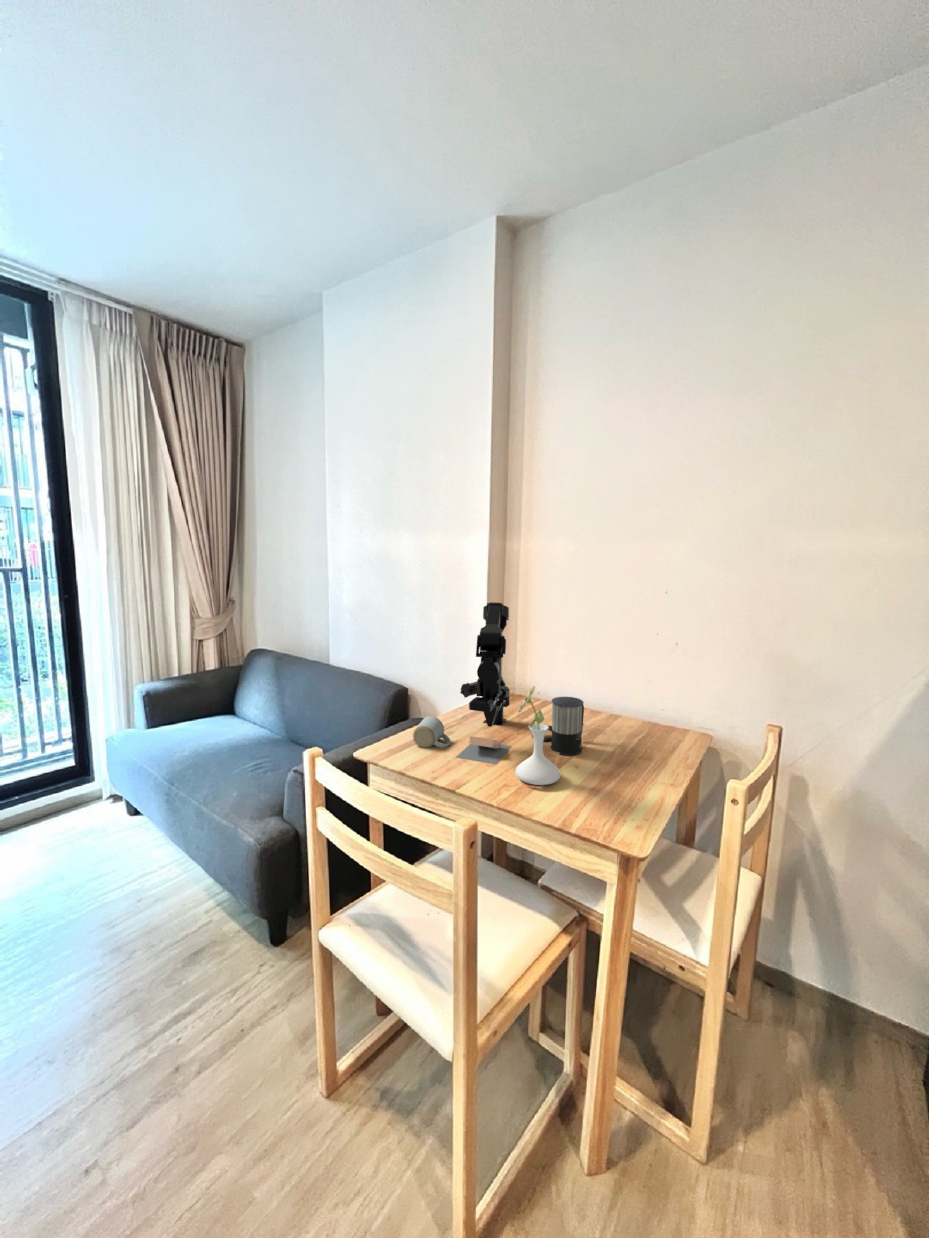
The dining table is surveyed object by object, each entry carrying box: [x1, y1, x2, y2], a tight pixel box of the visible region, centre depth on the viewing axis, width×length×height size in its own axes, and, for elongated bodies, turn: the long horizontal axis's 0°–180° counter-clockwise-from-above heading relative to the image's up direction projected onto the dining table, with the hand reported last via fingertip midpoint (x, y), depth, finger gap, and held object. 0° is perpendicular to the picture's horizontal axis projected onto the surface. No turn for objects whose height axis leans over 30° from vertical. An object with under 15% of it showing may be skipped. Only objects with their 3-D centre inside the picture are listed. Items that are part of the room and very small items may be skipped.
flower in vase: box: [514, 685, 562, 786], centre depth 123 cm, size 13×11×25 cm
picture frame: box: [468, 735, 502, 749], centre depth 141 cm, size 2×7×8 cm
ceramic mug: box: [412, 715, 451, 749], centre depth 147 cm, size 11×8×8 cm
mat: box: [455, 743, 513, 765], centre depth 141 cm, size 14×12×1 cm
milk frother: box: [531, 696, 585, 756], centre depth 146 cm, size 14×16×15 cm
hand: (489, 726), depth 144 cm, fingers closed
